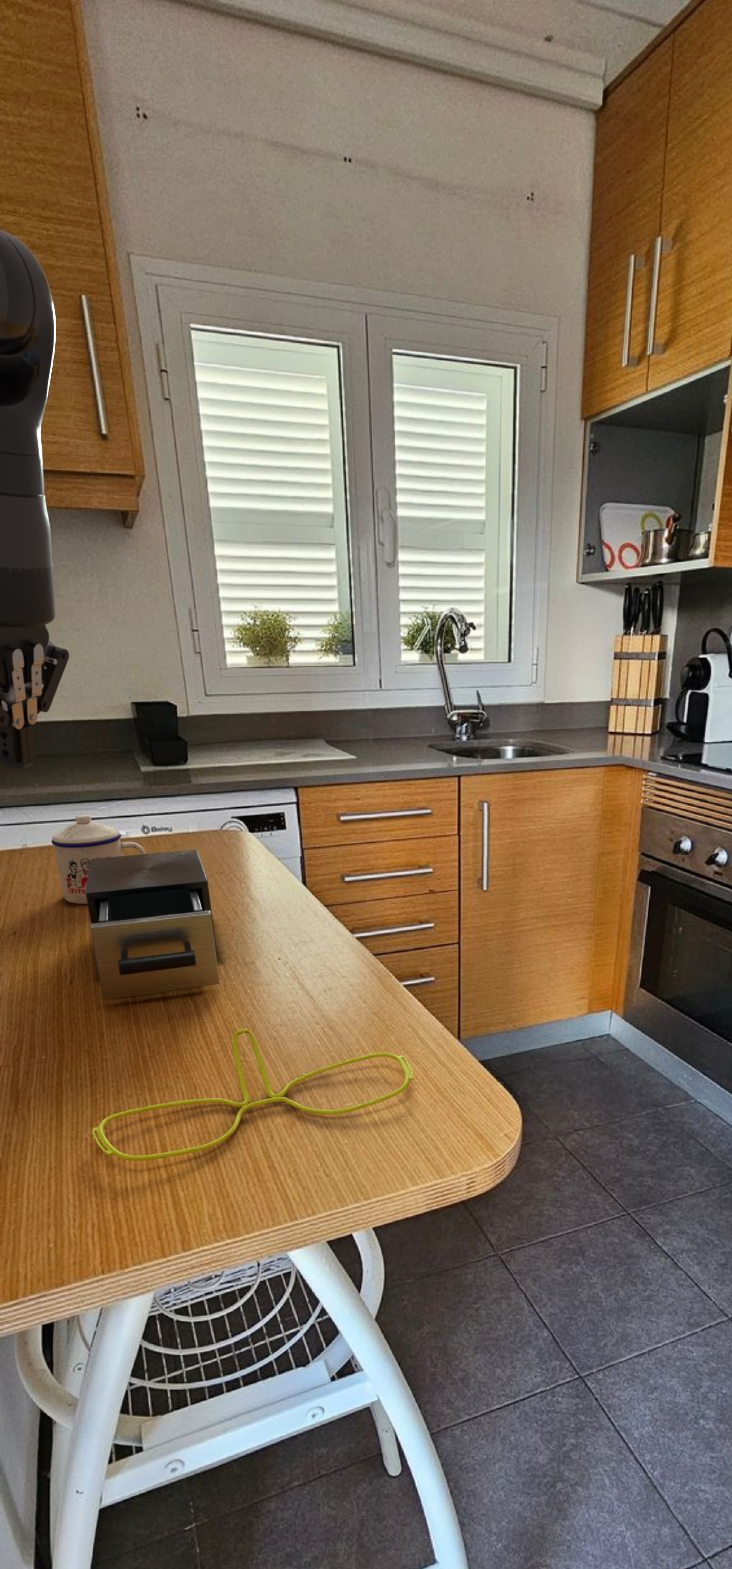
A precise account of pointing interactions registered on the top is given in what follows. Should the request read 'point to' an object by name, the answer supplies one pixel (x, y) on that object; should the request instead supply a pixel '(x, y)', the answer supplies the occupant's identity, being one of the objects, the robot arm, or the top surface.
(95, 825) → the teacup with lid
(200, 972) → the silver drawer with handle
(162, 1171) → the top surface
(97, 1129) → the glasses
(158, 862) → the metal drawer cabinet
